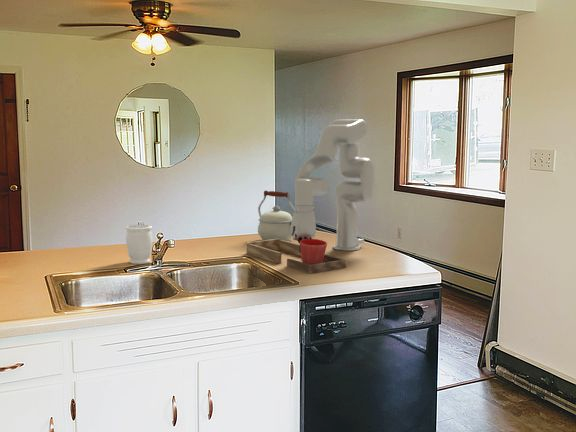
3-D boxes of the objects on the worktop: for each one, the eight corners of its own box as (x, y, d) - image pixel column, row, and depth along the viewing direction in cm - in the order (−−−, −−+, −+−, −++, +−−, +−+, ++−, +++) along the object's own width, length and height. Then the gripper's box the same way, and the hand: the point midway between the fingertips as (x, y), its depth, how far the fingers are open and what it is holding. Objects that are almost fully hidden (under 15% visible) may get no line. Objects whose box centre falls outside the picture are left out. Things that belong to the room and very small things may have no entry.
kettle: (247, 241, 293) (247, 191, 289) (269, 236, 308) (269, 188, 304) (289, 247, 279) (289, 194, 275) (310, 241, 294) (310, 191, 290)
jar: (157, 260, 247) (157, 225, 245) (144, 265, 238) (143, 229, 235) (135, 258, 251) (134, 223, 249) (121, 263, 241) (120, 227, 239)
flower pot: (323, 270, 234) (325, 246, 232) (296, 267, 236) (297, 243, 234) (327, 263, 244) (328, 240, 242) (301, 260, 247) (302, 237, 245)
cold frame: (279, 249, 274) (279, 238, 274) (313, 258, 255) (313, 246, 254) (246, 253, 263) (246, 242, 263) (279, 263, 244) (279, 251, 243)
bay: (321, 260, 250) (321, 253, 250) (346, 267, 238) (346, 260, 238) (286, 266, 239) (286, 258, 239) (310, 273, 227) (310, 265, 227)
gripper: (312, 207, 250) (312, 249, 252) (284, 209, 241) (283, 253, 243) (324, 208, 244) (323, 252, 246) (295, 211, 235) (294, 256, 237)
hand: (303, 253), depth 245 cm, fingers closed
